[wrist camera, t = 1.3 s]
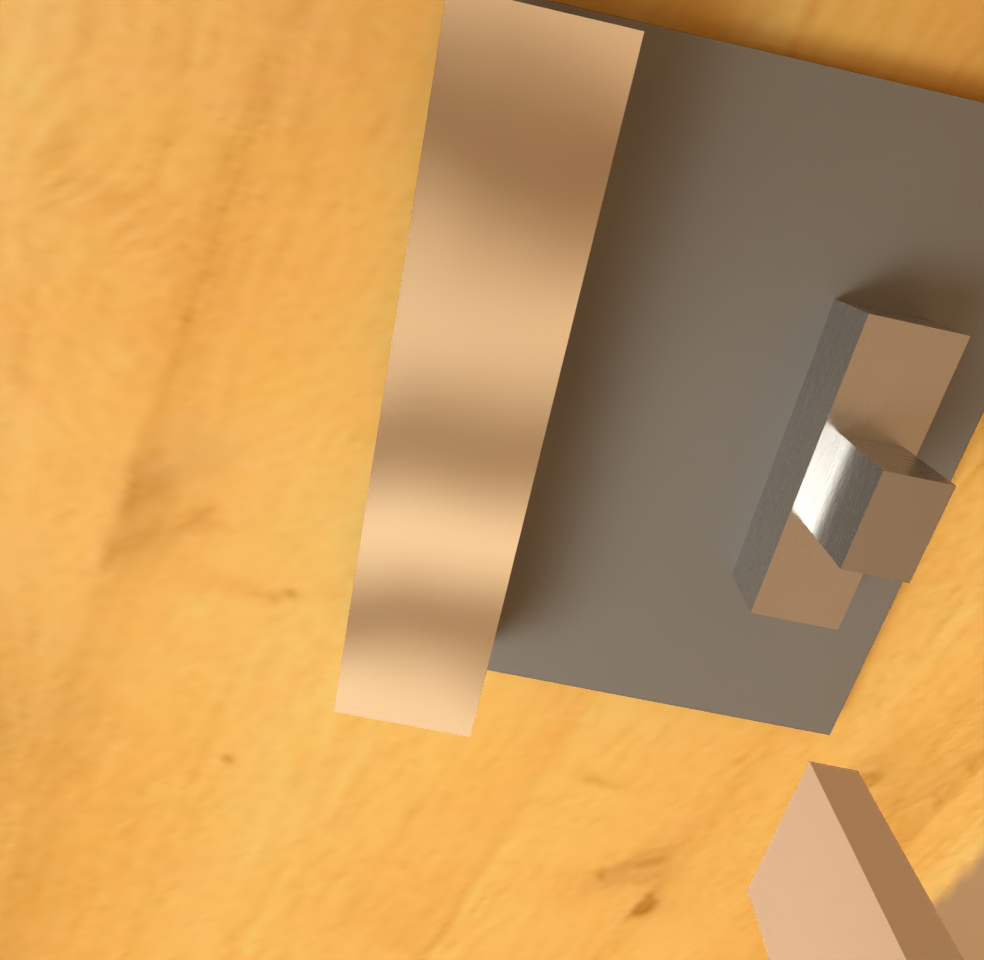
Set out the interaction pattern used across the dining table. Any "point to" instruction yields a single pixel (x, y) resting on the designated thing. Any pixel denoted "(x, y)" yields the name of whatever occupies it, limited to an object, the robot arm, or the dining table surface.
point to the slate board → (732, 365)
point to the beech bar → (478, 345)
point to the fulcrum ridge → (851, 468)
